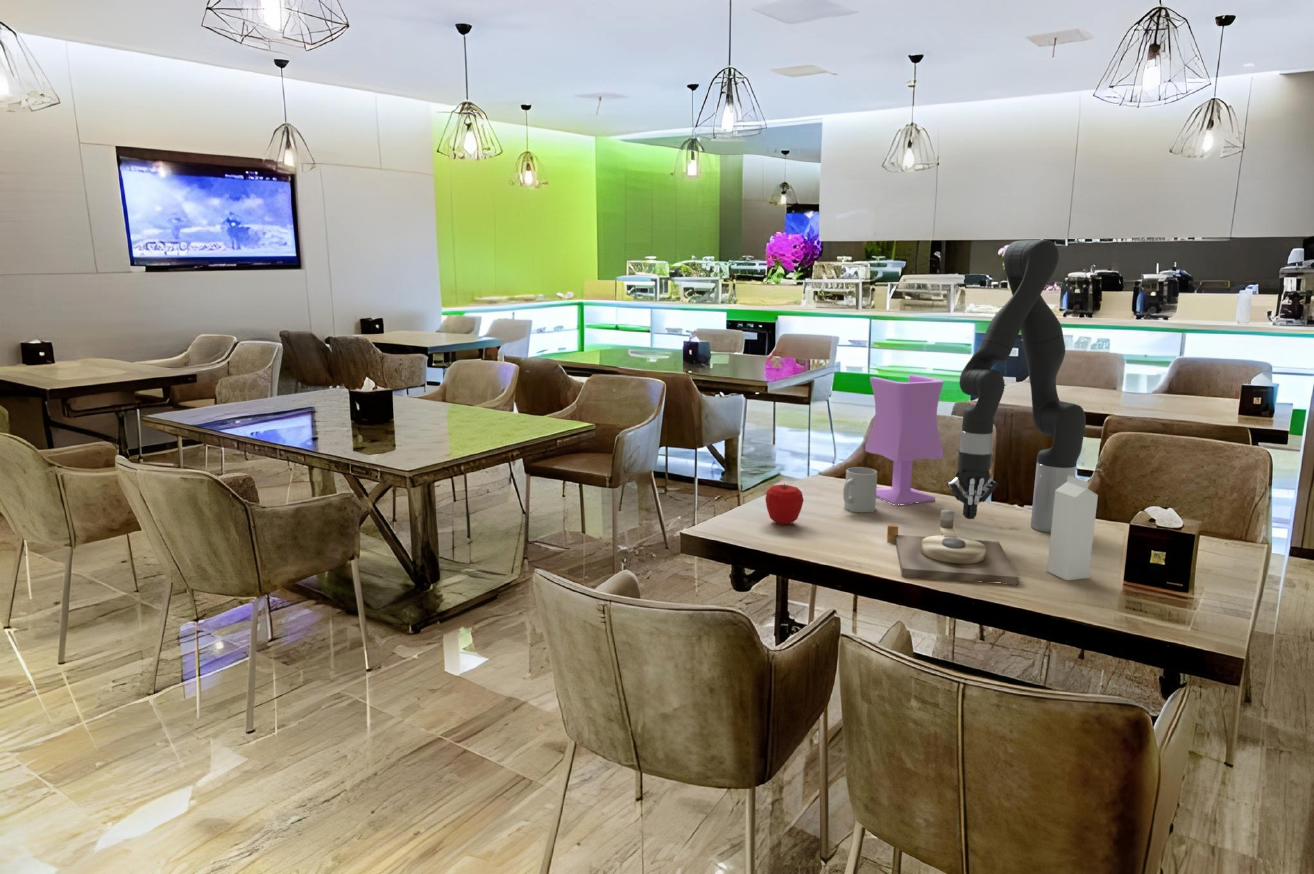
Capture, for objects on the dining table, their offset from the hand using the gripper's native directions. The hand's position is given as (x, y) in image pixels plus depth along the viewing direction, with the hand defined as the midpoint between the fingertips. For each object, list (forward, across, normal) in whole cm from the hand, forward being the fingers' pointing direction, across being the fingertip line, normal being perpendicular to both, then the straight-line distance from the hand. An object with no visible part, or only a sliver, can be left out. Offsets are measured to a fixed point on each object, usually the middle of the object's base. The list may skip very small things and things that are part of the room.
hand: (969, 518), depth 209 cm
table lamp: (+6, -2, -40) cm, 40 cm away
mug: (+6, +16, -30) cm, 35 cm away
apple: (+6, +40, -21) cm, 46 cm away
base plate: (+6, +12, +12) cm, 18 cm away
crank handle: (+4, +10, +9) cm, 14 cm away
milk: (+6, -10, +25) cm, 28 cm away
